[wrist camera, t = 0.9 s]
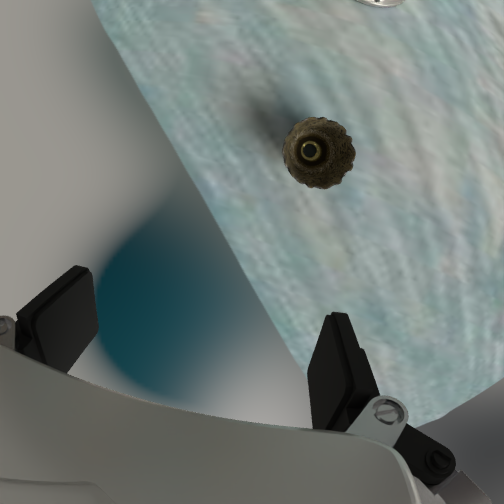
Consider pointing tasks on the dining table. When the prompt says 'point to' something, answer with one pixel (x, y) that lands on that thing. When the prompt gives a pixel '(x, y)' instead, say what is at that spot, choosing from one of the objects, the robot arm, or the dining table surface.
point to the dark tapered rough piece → (318, 152)
